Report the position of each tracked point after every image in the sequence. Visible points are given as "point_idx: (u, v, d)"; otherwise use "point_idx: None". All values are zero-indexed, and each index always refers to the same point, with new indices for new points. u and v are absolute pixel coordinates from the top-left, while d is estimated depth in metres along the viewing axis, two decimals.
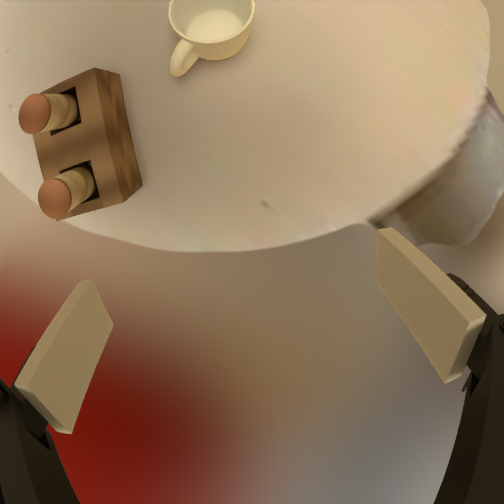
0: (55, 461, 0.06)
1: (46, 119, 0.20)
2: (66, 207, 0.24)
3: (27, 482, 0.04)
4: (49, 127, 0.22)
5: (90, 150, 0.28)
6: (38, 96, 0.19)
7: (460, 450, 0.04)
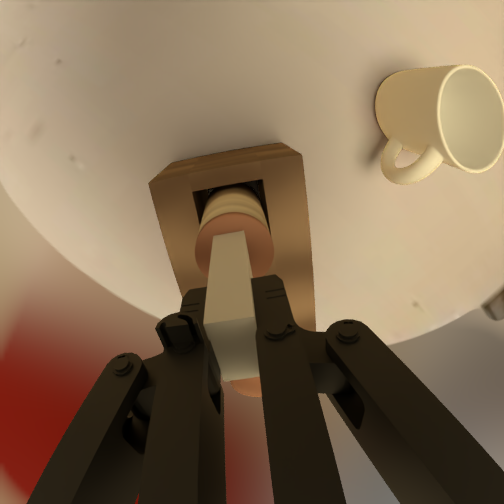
0: (220, 429, 0.07)
1: (267, 268, 0.16)
2: None
3: (189, 462, 0.05)
4: None
5: None
6: (250, 223, 0.14)
7: None
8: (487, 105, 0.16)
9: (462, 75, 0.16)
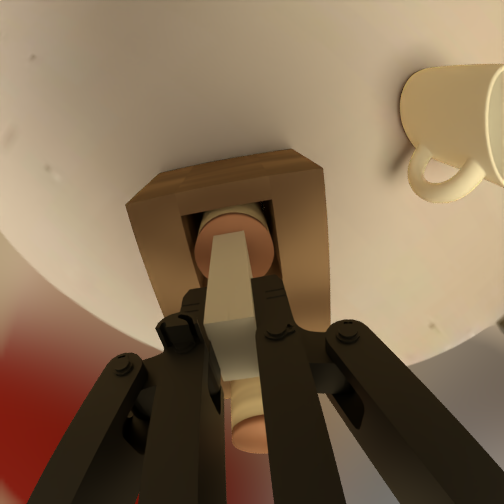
0: (221, 429, 0.07)
1: (267, 268, 0.16)
2: None
3: (189, 462, 0.05)
4: None
5: None
6: (250, 224, 0.14)
7: None
8: None
9: (502, 76, 0.12)
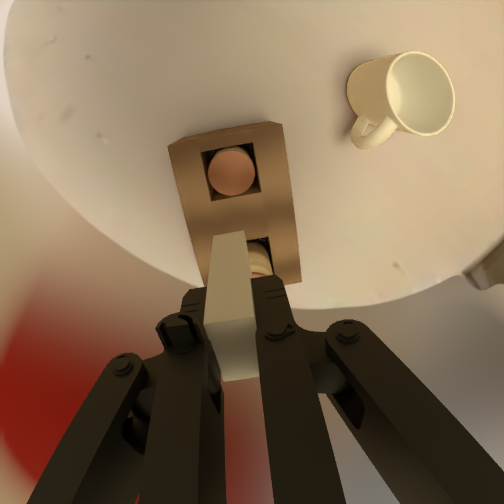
0: (220, 429, 0.07)
1: (251, 183, 0.26)
2: None
3: (189, 462, 0.05)
4: None
5: (270, 226, 0.28)
6: (240, 155, 0.24)
7: None
8: (438, 83, 0.22)
9: (415, 60, 0.21)
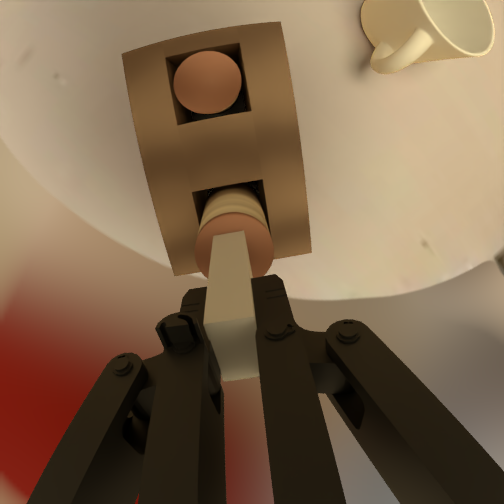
0: (220, 429, 0.07)
1: (236, 96, 0.16)
2: (263, 269, 0.16)
3: (189, 462, 0.05)
4: (224, 109, 0.17)
5: (265, 163, 0.18)
6: (221, 56, 0.15)
7: None
8: (470, 8, 0.12)
9: None
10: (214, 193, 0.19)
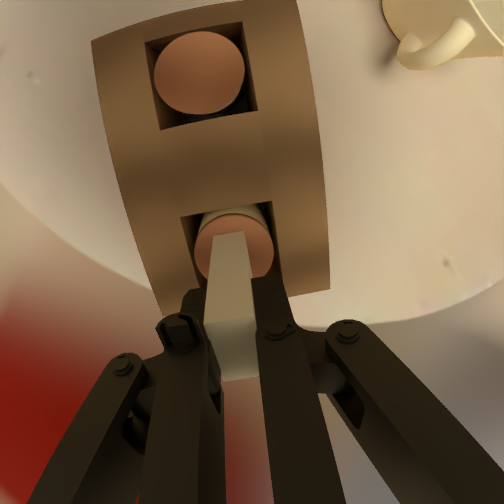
0: (220, 429, 0.07)
1: (237, 90, 0.12)
2: (263, 270, 0.16)
3: (189, 462, 0.05)
4: (221, 108, 0.13)
5: (275, 179, 0.14)
6: (217, 38, 0.10)
7: None
8: None
9: None
10: None
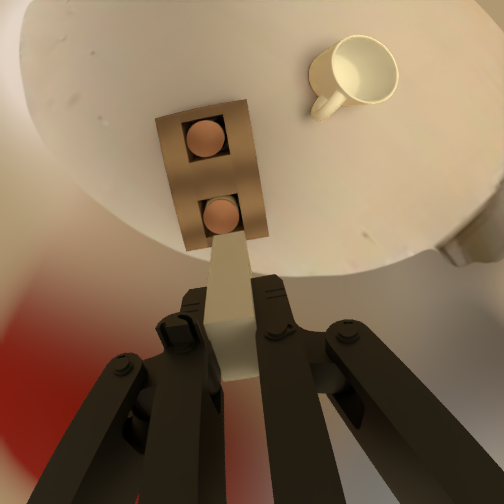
0: (220, 429, 0.07)
1: (221, 146, 0.30)
2: (234, 225, 0.34)
3: (189, 462, 0.05)
4: None
5: (238, 183, 0.33)
6: (212, 123, 0.29)
7: None
8: (384, 62, 0.27)
9: (363, 45, 0.27)
10: None
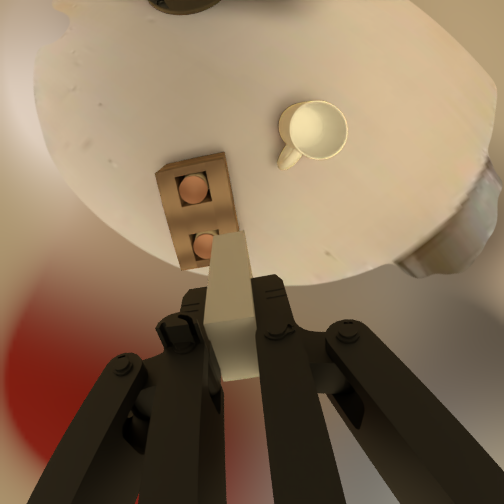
0: (220, 429, 0.07)
1: None
2: None
3: (189, 462, 0.05)
4: None
5: (219, 222, 0.44)
6: (198, 179, 0.40)
7: None
8: (338, 119, 0.38)
9: (321, 104, 0.38)
10: None
